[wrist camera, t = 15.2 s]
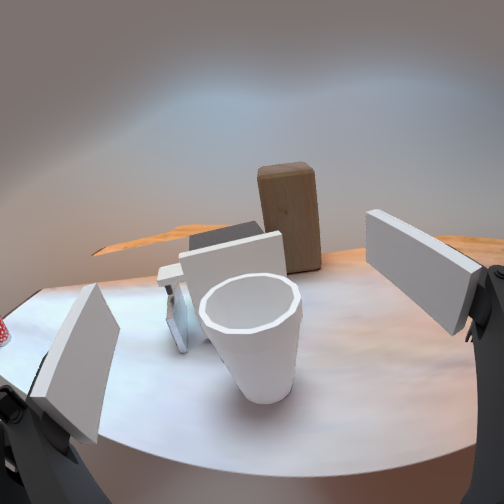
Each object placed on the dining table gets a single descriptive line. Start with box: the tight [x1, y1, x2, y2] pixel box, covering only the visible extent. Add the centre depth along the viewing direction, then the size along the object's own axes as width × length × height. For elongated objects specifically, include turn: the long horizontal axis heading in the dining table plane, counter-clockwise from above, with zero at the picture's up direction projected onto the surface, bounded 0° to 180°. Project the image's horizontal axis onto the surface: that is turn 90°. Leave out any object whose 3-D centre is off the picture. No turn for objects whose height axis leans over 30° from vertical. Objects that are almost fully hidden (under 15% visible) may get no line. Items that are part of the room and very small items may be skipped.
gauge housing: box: [166, 221, 265, 362], centre depth 40 cm, size 18×17×12 cm
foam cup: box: [199, 273, 303, 404], centre depth 27 cm, size 10×9×13 cm
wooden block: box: [257, 162, 321, 273], centre depth 53 cm, size 10×10×20 cm
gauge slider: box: [157, 231, 287, 338], centre depth 38 cm, size 6×17×13 cm, turn 102°
